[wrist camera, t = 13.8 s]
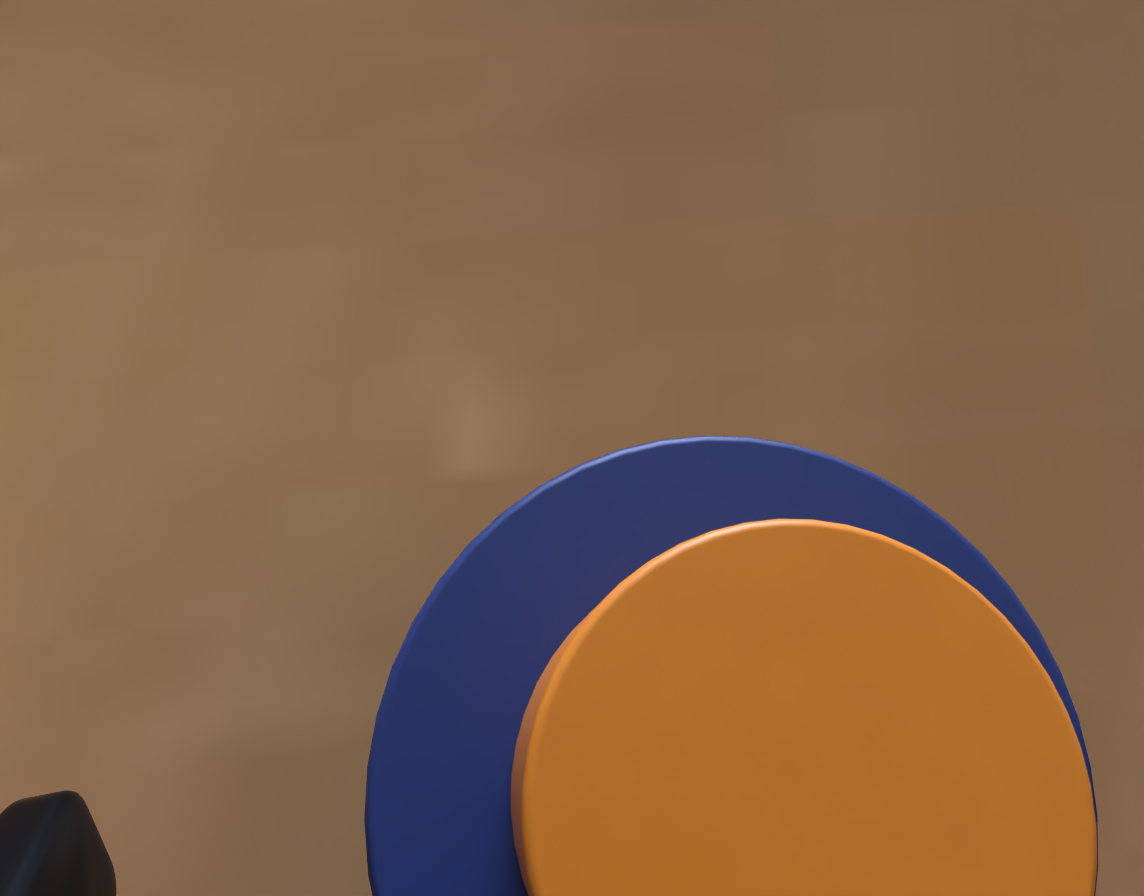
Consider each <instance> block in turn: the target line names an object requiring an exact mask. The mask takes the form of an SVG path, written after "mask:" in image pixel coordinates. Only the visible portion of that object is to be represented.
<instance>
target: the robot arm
mask: <svg viewBox="0 0 1144 896" xmlns="http://www.w3.org/2000/svg"><path fill="white" fill-rule="evenodd" d="M0 896H116V879H115V873H114V868H113V865H112V862H111V859H110V857H109V855H108V852H107V850H106V848H105V846H104V843H103V841H102V839H101V837H100V834H99V832H98V830H97V828H96V825H95V823H94V821H93V818H92V816H91V814H90V812H89V809H88V807H87V805H86V803H85V801H84V800H83V798H82V797H81V796H80V795H79V794H78V793H76V792H74V791H61V792H55V793H50V794H45V795H40V796H35V797H30V798H25V799H21V800H18V801H16V802H14V803H13V804H11V805H10V806H8V807H7V808H6V809H5V810H4V811H3V812H2V813H1V814H0Z"/></svg>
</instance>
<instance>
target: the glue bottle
mask: <svg viewBox="0 0 1144 896" xmlns="http://www.w3.org/2000/svg"><path fill="white" fill-rule="evenodd" d="M365 834H366V848H367V862H368V875H369V880H370V885H371V890H372V895H373V896H1095V892H1096V882H1097V872H1098V835H1097V811H1096V803H1095V796H1094V789H1093V782H1092V774H1091V767H1090V762H1089V759H1088V755H1087V751H1086V747H1085V743H1084V739H1083V735H1082V731H1081V727H1080V723H1079V720H1078V716H1077V714H1076V711H1075V708H1074V706H1073V703H1072V700H1071V698H1070V695H1069V693H1068V690H1067V687H1066V685H1065V682H1064V680H1063V677H1062V674H1061V672H1060V670H1059V668H1058V666H1057V664H1056V662H1055V660H1054V658H1053V656H1052V654H1051V652H1050V650H1049V648H1048V646H1047V645H1046V643H1045V641H1044V639H1043V637H1042V635H1041V633H1040V631H1039V629H1038V628H1037V626H1036V625H1035V623H1034V622H1033V620H1032V619H1031V617H1030V616H1029V614H1028V613H1027V611H1026V610H1025V608H1024V607H1023V605H1022V604H1021V602H1020V601H1019V599H1018V598H1017V596H1016V595H1015V593H1014V592H1013V590H1012V589H1011V588H1010V587H1009V585H1008V584H1007V583H1006V582H1005V581H1004V579H1003V578H1002V577H1001V576H1000V575H999V573H998V572H997V571H996V570H995V569H994V568H993V566H992V565H991V564H990V563H989V562H988V560H987V559H986V558H985V557H984V556H983V555H982V554H981V553H980V552H979V551H978V550H977V549H976V548H975V547H974V546H973V545H972V544H971V543H970V542H969V541H968V540H967V539H966V538H964V537H963V536H962V535H961V534H960V533H959V532H958V531H957V530H956V529H955V528H954V527H953V526H952V525H951V524H950V523H948V522H947V521H946V520H944V519H943V518H942V517H940V516H939V515H938V514H936V513H935V512H934V511H932V510H931V509H930V508H928V507H927V506H926V505H924V504H923V503H922V502H920V501H919V500H918V499H916V498H915V497H913V496H912V495H910V494H908V493H907V492H905V491H903V490H902V489H900V488H898V487H896V486H895V485H893V484H891V483H889V482H888V481H886V480H884V479H882V478H881V477H879V476H877V475H875V474H874V473H871V472H869V471H867V470H864V469H862V468H860V467H857V466H855V465H852V464H850V463H848V462H845V461H843V460H841V459H838V458H836V457H834V456H831V455H827V454H824V453H820V452H817V451H814V450H810V449H807V448H803V447H800V446H796V445H793V444H788V443H782V442H776V441H769V440H763V439H757V438H750V437H728V436H698V437H688V438H677V439H667V440H660V441H655V442H651V443H647V444H643V445H638V446H634V447H630V448H625V449H621V450H618V451H615V452H612V453H610V454H607V455H604V456H602V457H599V458H596V459H594V460H591V461H589V462H586V463H583V464H581V465H578V466H576V467H574V468H572V469H571V470H569V471H567V472H565V473H563V474H561V475H559V476H557V477H556V478H554V479H552V480H550V481H548V482H546V483H544V484H542V485H541V486H539V487H537V488H536V489H535V490H533V491H532V492H530V493H529V494H528V495H526V496H525V497H523V498H522V499H521V500H519V501H518V502H517V503H515V504H514V505H512V506H511V507H510V508H508V509H507V510H505V511H504V512H503V513H501V514H500V515H499V516H498V517H497V518H496V519H495V520H494V521H493V522H492V523H491V524H490V525H489V526H488V527H487V528H485V529H484V530H483V531H482V532H481V533H480V534H479V535H478V536H477V537H476V538H475V539H474V540H473V541H472V542H470V543H469V544H468V546H467V547H466V548H465V549H464V550H463V552H462V553H461V554H460V555H459V557H458V558H457V559H456V560H455V561H454V563H453V564H452V565H451V566H450V568H449V569H448V570H447V571H446V572H445V574H444V575H443V576H442V577H441V578H440V580H439V581H438V583H437V584H436V586H435V587H434V589H433V591H432V592H431V594H430V595H429V597H428V599H427V600H426V602H425V603H424V605H423V606H422V608H421V610H420V611H419V613H418V614H417V616H416V618H415V619H414V621H413V623H412V625H411V627H410V629H409V631H408V634H407V636H406V638H405V640H404V642H403V644H402V647H401V649H400V651H399V653H398V655H397V657H396V660H395V662H394V664H393V666H392V669H391V672H390V675H389V678H388V682H387V685H386V688H385V691H384V694H383V697H382V701H381V704H380V707H379V710H378V713H377V717H376V723H375V728H374V734H373V739H372V745H371V750H370V756H369V761H368V766H367V784H366V802H365Z"/></svg>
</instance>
